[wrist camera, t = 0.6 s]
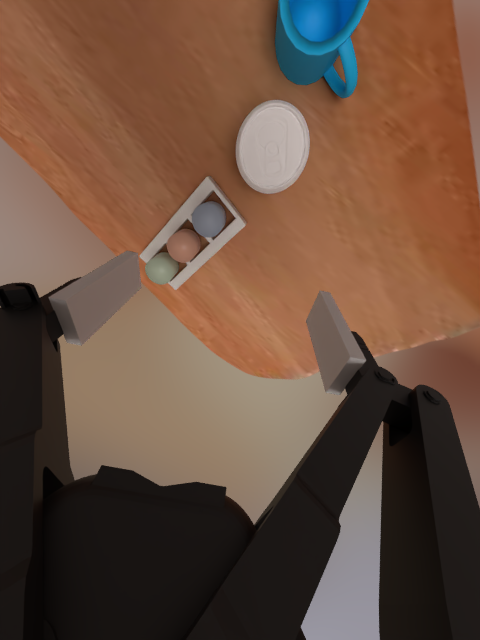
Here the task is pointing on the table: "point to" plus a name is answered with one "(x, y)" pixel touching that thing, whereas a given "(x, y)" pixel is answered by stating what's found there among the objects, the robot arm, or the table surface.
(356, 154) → the table surface
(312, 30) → the mug
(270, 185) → the beverage can
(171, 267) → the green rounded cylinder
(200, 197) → the three-ball tray
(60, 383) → the robot arm
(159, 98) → the table surface
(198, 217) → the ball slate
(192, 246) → the button terracotta
